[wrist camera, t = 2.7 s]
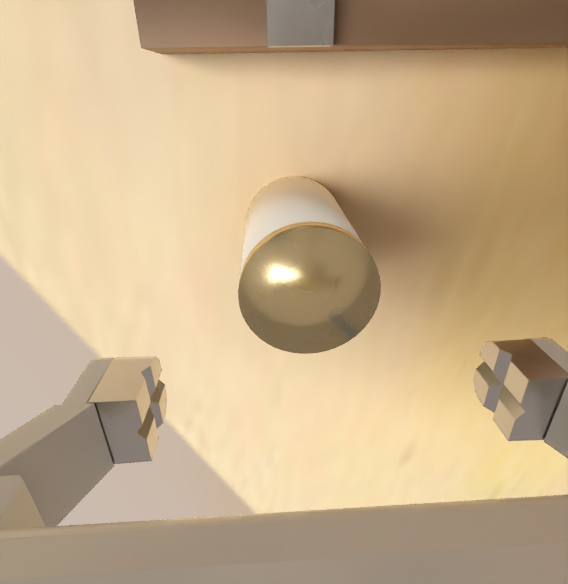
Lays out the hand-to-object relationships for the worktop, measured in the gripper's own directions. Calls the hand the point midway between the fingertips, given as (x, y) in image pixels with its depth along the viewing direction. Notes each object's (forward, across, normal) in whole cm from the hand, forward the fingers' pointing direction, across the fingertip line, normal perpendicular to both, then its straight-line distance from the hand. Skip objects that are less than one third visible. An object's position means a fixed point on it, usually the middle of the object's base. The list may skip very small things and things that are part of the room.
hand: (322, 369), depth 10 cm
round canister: (+10, 0, -1) cm, 10 cm away
